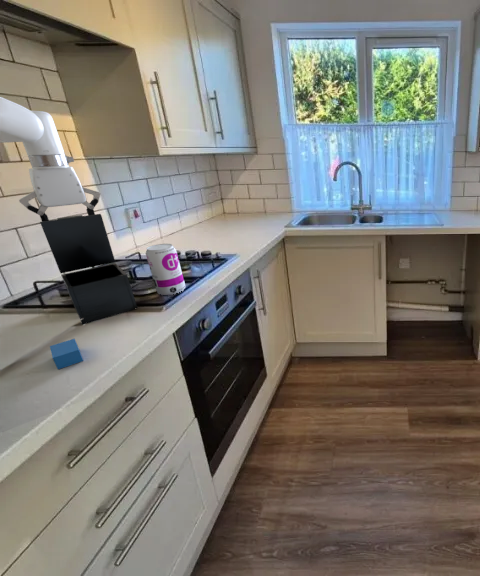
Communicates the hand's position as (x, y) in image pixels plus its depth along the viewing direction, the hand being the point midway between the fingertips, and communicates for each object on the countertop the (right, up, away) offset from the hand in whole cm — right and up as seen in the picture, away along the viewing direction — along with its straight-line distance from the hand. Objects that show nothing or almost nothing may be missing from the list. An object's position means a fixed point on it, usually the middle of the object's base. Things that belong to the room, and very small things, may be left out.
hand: (72, 225), depth 103 cm
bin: (+7, -24, +4) cm, 25 cm away
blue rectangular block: (+17, -34, -20) cm, 43 cm away
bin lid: (+3, -5, 0) cm, 6 cm away
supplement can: (+20, -19, +15) cm, 31 cm away
